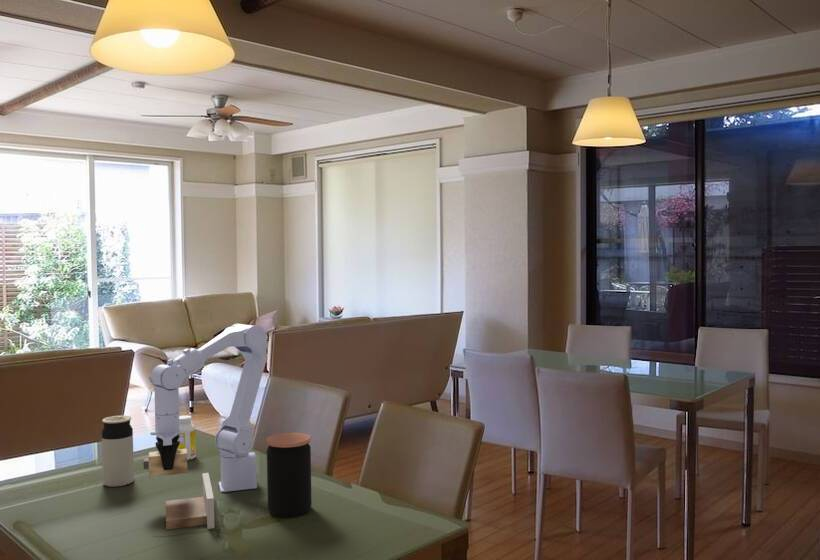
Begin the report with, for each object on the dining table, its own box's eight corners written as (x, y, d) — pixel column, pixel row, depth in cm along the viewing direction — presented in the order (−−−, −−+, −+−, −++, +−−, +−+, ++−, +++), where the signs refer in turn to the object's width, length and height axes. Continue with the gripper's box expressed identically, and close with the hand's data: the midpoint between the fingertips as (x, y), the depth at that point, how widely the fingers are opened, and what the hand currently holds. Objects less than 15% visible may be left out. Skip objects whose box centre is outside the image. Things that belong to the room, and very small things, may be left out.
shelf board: (209, 499, 184) (208, 472, 184) (214, 528, 165) (213, 498, 165) (203, 500, 184) (202, 473, 183) (207, 528, 165) (207, 498, 164)
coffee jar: (319, 505, 179) (318, 434, 178) (299, 520, 169) (297, 445, 168) (281, 500, 183) (280, 431, 182) (259, 515, 173) (258, 441, 172)
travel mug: (115, 489, 193) (113, 423, 192) (96, 484, 197) (94, 419, 196) (140, 481, 200) (138, 417, 199) (122, 476, 204) (120, 413, 203)
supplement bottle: (193, 453, 226) (192, 413, 225) (198, 459, 220) (197, 417, 220) (171, 457, 222) (170, 416, 222) (176, 462, 217) (175, 420, 216)
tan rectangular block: (187, 468, 183) (186, 448, 183) (187, 473, 179) (186, 453, 179) (144, 472, 180) (144, 452, 180) (143, 477, 176) (143, 457, 175)
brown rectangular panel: (203, 504, 181) (203, 496, 181) (207, 524, 168) (206, 515, 168) (165, 508, 178) (165, 500, 178) (166, 529, 165) (166, 520, 165)
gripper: (150, 408, 185) (152, 460, 185) (149, 420, 171) (150, 477, 171) (179, 406, 187) (180, 457, 187) (180, 418, 173) (181, 473, 174)
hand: (168, 466), depth 179 cm, fingers closed on tan rectangular block, 4 cm apart
